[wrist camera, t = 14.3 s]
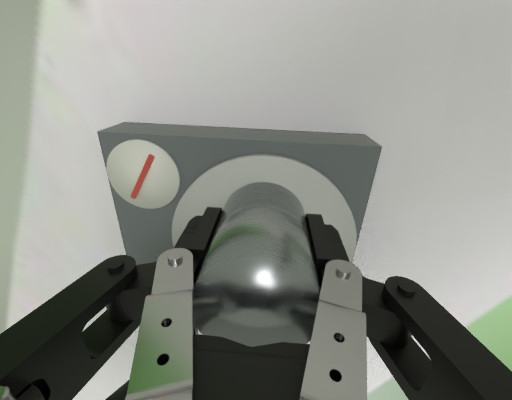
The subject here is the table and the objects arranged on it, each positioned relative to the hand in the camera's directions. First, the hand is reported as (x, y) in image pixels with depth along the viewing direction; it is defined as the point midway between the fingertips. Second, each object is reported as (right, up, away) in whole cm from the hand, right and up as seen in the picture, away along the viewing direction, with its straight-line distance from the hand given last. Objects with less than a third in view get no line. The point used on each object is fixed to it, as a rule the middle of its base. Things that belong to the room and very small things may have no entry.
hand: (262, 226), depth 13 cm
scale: (-1, 0, +7) cm, 7 cm away
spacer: (0, 0, +1) cm, 1 cm away
